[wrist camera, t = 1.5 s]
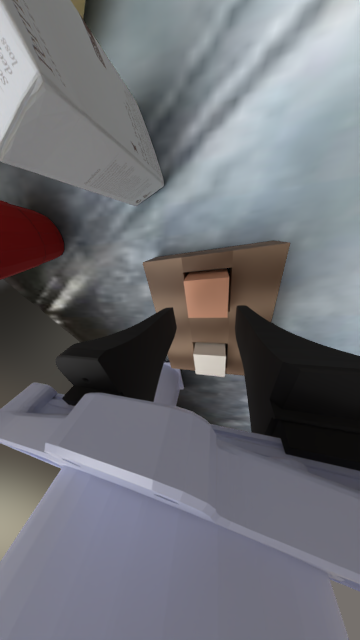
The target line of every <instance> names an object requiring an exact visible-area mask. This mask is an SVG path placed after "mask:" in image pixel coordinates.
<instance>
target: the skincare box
mask: <svg viewBox="0 0 360 640" xmlns="http://www.w3.org/2000/svg"><path fill="white" fill-rule="evenodd" d="M0 161H1V162H4V163H6V164H9V165H13V166H16V167H19V168H22V169H25V170H28V171H31V172H34V173H37V174H40V175H43V176H46V177H49V178H52V179H55V180H58V181H61V182H64V183H67V184H70V185H73V186H76V187H79V188H82V189H85V190H88V191H91V192H94V193H97V194H100V195H103V196H106V197H110V198H113V199H116V200H119V201H122V202H125V203H128V204H131V205H134V206H137V205H139V204H140V203H141V202H143V201H144V200H145V199H147V198H148V197H149V196H151V195H152V194H154V193H155V192H156V191H158V190H159V189H160V188H162V187H163V186H164V180H163V176H162V173H161V169H160V166H159V163H158V160H157V157H156V154H155V151H154V148H153V145H152V142H151V139H150V136H149V133H148V131H147V128H146V125H145V122H144V120H143V117H142V114H141V112H140V109H139V107H138V104H137V102H136V100H135V99H134V97H133V96H132V94H131V93H130V91H129V90H128V88H127V86H126V85H125V83H124V82H123V80H122V79H121V77H120V75H119V74H118V72H117V71H116V69H115V68H114V66H113V65H112V63H111V62H110V60H109V59H108V57H107V56H106V54H105V53H104V51H103V49H102V48H101V46H100V45H99V43H98V42H97V40H96V39H95V37H94V36H93V34H92V33H91V31H90V29H89V28H88V26H87V25H86V23H85V22H84V20H83V18H82V17H81V15H80V14H79V12H78V11H77V9H76V8H75V6H74V5H73V3H72V2H71V0H0Z"/></svg>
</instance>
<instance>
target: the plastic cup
mask: <svg viewBox="0 0 360 640" xmlns="http://www.w3.org/2000/svg"><path fill="white" fill-rule="evenodd" d="M63 251H64V242H63V239H62V237H61V234H60V232H59V231H58V229H57V227H56V226H55V225H54V224H53V223H52V221H51V220H50V219H49V218H47V217H46V216H44V215H42V214H40V213H37V212H35V211H33V210H29V209H26V208H22V207H18V206H15V205H11V204H9V203H7V202H4V201H0V280H1V279H4V278H6V277H9V276H12V275H15V274H17V273H20V272H23V271H25V270H28V269H31V268H33V267H36V266H39V265H41V264H42V263H45V262H47V261H50V260H53V259H55V258H57V257H59V256H60V255H62V254H63Z"/></svg>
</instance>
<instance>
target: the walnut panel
mask: <svg viewBox="0 0 360 640" xmlns="http://www.w3.org/2000/svg"><path fill="white" fill-rule="evenodd" d="M289 246H290V243H288V242H280V241H267V242H260V243H253V244H246V245H239V246H232V247H225V248H218V249H211V250H204V251H197V252H189V253H182V254H175V255H168V256H161V257H155V258H153V259H150V260H148V261H145V262H143V266H144V270H145V273H146V277H147V281H148V284H149V288H150V292H151V295H152V299H153V303H154V306H155V310H156V313H157V312H159V311H161V310H162V309H164V308H171V307H173V310H174V315H175V320H176V325H177V329H176V333H175V337H174V340H173V342H172V344H171V347H170V349H169V351H168V358H169V361H170V365H171V368H174V369H184V370H194V371H195V364H194V356H193V353H194V348H195V343H196V342H202V343H226V349H225V352H226V363H225V374H234V375H244V369H243V364H242V360H241V356H240V352H239V349H238V345H237V341H236V335H235V319H236V307H237V306H238V305H246V306H248V307H249V308H250V309H252V310H253V311H254V312H256V313H257V314H259V315H260V316H261V317H263V318H264V319H266V320H268V321H269V322H271V320H272V316H273V312H274V308H275V304H276V299H277V295H278V291H279V287H280V283H281V279H282V275H283V271H284V267H285V263H286V259H287V254H288V250H289ZM222 268H229V294H228V317H227V318H188V311H187V304H186V296H185V289H184V280H185V278H186V277H187V275H188V274H189V272H192V271H202V270H212V269H222ZM244 376H245V375H244Z"/></svg>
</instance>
